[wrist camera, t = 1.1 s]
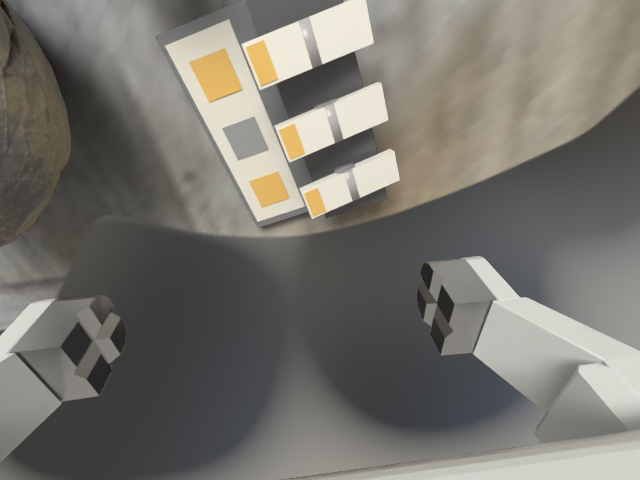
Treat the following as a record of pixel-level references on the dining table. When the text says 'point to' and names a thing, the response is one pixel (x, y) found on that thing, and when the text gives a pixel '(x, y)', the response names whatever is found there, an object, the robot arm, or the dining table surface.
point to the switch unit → (263, 105)
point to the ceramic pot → (27, 128)
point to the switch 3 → (350, 183)
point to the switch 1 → (309, 43)
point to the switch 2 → (332, 121)
